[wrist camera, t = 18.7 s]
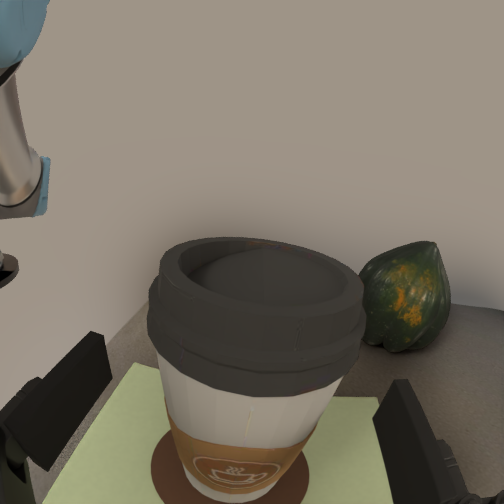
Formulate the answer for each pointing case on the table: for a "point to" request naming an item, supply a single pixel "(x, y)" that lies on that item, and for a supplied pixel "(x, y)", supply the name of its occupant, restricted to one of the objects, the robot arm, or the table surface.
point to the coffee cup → (250, 355)
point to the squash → (405, 297)
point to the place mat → (172, 471)
